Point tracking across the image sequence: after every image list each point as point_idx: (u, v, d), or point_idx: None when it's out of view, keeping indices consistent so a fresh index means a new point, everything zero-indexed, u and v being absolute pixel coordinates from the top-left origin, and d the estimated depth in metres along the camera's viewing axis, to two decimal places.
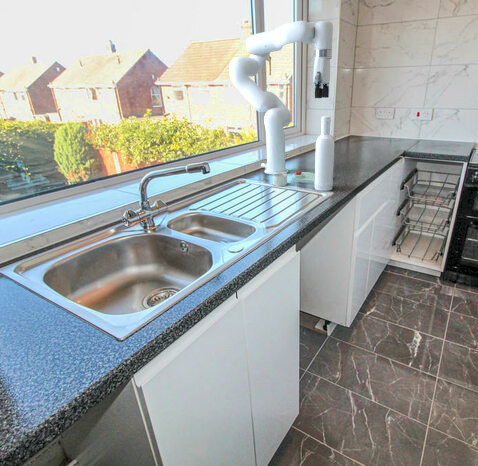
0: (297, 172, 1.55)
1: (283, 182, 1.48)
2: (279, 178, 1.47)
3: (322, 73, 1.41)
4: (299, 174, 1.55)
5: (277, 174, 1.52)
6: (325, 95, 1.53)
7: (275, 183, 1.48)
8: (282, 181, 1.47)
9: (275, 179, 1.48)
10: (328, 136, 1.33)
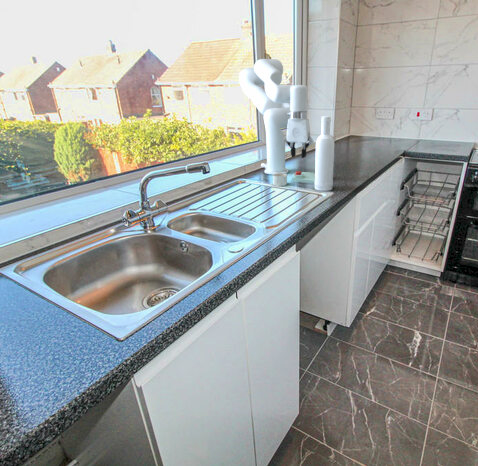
0: (297, 172, 1.55)
1: (283, 182, 1.48)
2: (279, 178, 1.47)
3: (309, 132, 1.48)
4: (299, 174, 1.55)
5: (277, 174, 1.52)
6: (294, 154, 1.54)
7: (275, 183, 1.48)
8: (282, 181, 1.47)
9: (275, 179, 1.48)
10: (328, 136, 1.33)
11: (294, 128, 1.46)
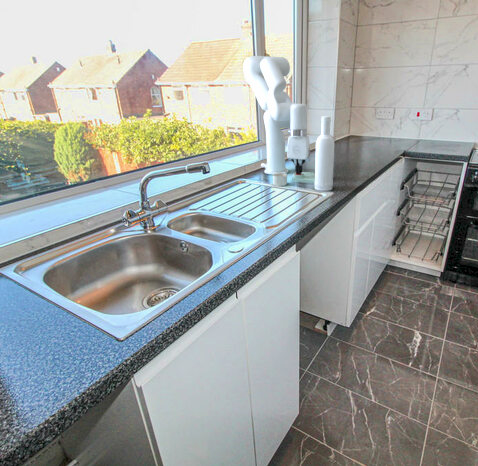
0: None
1: (283, 182, 1.48)
2: (279, 178, 1.47)
3: (309, 149, 1.51)
4: None
5: (277, 174, 1.52)
6: None
7: (275, 183, 1.48)
8: (282, 181, 1.47)
9: (275, 179, 1.48)
10: (328, 136, 1.33)
11: (294, 145, 1.49)
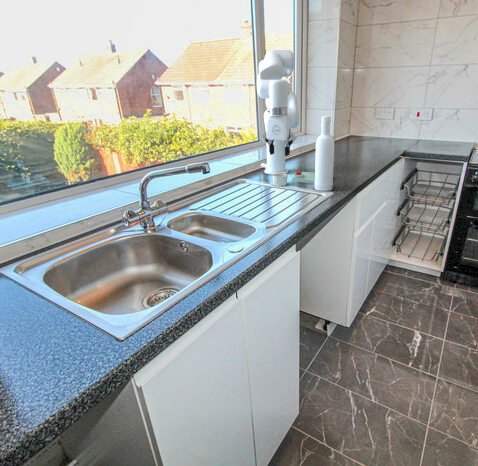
0: (297, 172, 1.55)
1: (283, 182, 1.48)
2: (279, 178, 1.47)
3: (290, 130, 1.41)
4: (299, 174, 1.55)
5: (277, 174, 1.52)
6: (273, 152, 1.47)
7: (275, 183, 1.48)
8: (282, 181, 1.47)
9: (275, 179, 1.48)
10: (328, 136, 1.33)
11: (274, 125, 1.39)
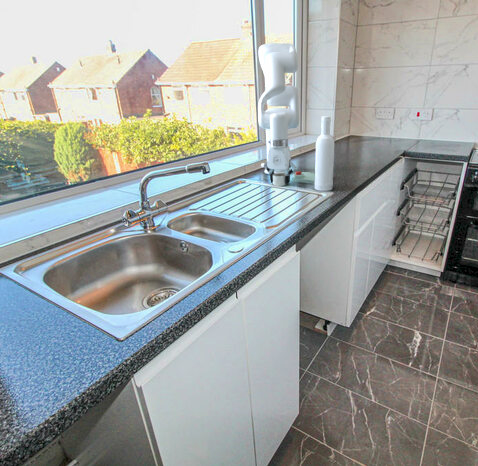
0: (297, 172, 1.55)
1: (283, 182, 1.48)
2: (279, 178, 1.47)
3: None
4: (299, 174, 1.55)
5: (277, 174, 1.52)
6: None
7: (275, 183, 1.48)
8: (282, 181, 1.47)
9: (275, 179, 1.48)
10: (328, 136, 1.33)
11: (275, 156, 1.44)
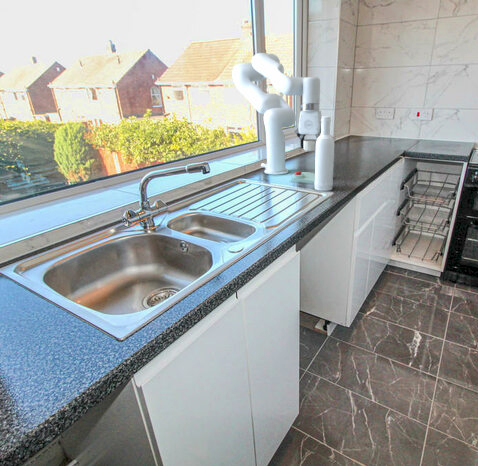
0: (297, 172, 1.55)
1: (314, 147, 1.50)
2: (310, 143, 1.49)
3: None
4: (299, 174, 1.55)
5: (307, 140, 1.54)
6: None
7: (306, 148, 1.51)
8: (313, 146, 1.50)
9: (306, 144, 1.50)
10: (328, 136, 1.33)
11: (306, 120, 1.46)
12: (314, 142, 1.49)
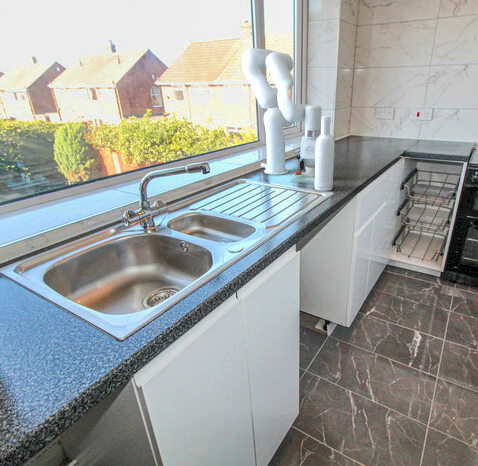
0: (297, 172, 1.55)
1: None
2: (312, 169, 1.55)
3: None
4: (299, 174, 1.55)
5: (309, 166, 1.60)
6: (303, 167, 1.60)
7: (308, 174, 1.56)
8: None
9: (308, 170, 1.55)
10: (328, 136, 1.33)
11: (308, 146, 1.51)
12: None
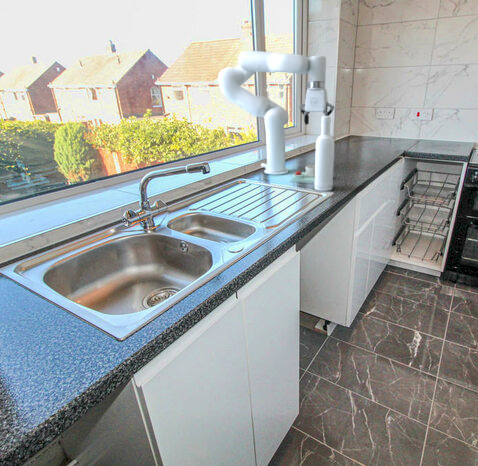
0: (297, 172, 1.55)
1: None
2: (312, 169, 1.55)
3: (327, 102, 1.55)
4: (299, 174, 1.55)
5: (309, 166, 1.60)
6: (307, 122, 1.61)
7: (308, 174, 1.56)
8: None
9: (308, 170, 1.55)
10: (328, 136, 1.33)
11: (313, 98, 1.52)
12: None
